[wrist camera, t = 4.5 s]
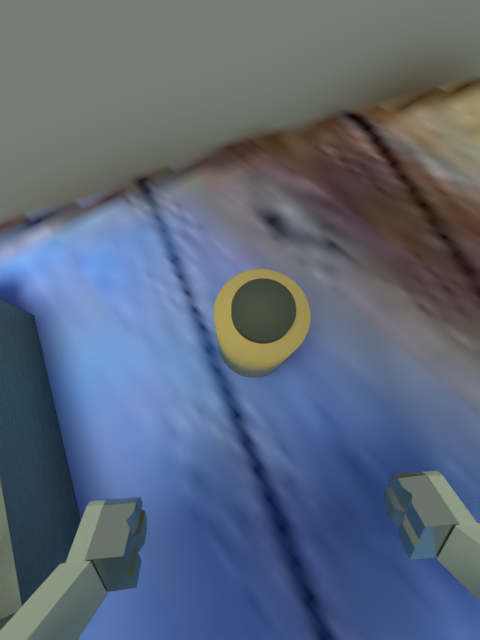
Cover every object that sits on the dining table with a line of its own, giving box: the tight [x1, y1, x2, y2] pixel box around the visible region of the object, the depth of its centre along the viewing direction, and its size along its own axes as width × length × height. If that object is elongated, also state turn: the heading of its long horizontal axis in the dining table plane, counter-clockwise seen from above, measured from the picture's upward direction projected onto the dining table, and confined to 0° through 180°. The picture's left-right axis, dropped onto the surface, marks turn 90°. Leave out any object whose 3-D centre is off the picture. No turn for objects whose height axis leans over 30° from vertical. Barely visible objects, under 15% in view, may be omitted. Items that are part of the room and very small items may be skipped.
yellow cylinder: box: [214, 269, 311, 377], centre depth 19 cm, size 5×5×8 cm
